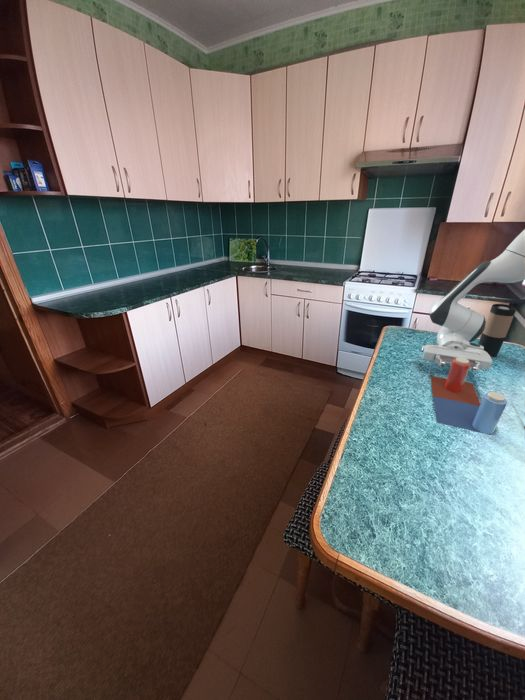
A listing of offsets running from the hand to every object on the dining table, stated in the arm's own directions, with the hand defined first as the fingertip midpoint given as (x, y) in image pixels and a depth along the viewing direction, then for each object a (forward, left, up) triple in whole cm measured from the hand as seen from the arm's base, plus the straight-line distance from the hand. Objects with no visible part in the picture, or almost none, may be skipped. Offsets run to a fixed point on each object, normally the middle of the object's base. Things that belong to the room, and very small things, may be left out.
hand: (458, 367), depth 95 cm
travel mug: (-16, -33, -8) cm, 38 cm away
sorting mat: (0, +10, -8) cm, 12 cm away
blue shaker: (-5, +20, -7) cm, 22 cm away
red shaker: (0, +2, -7) cm, 7 cm away
